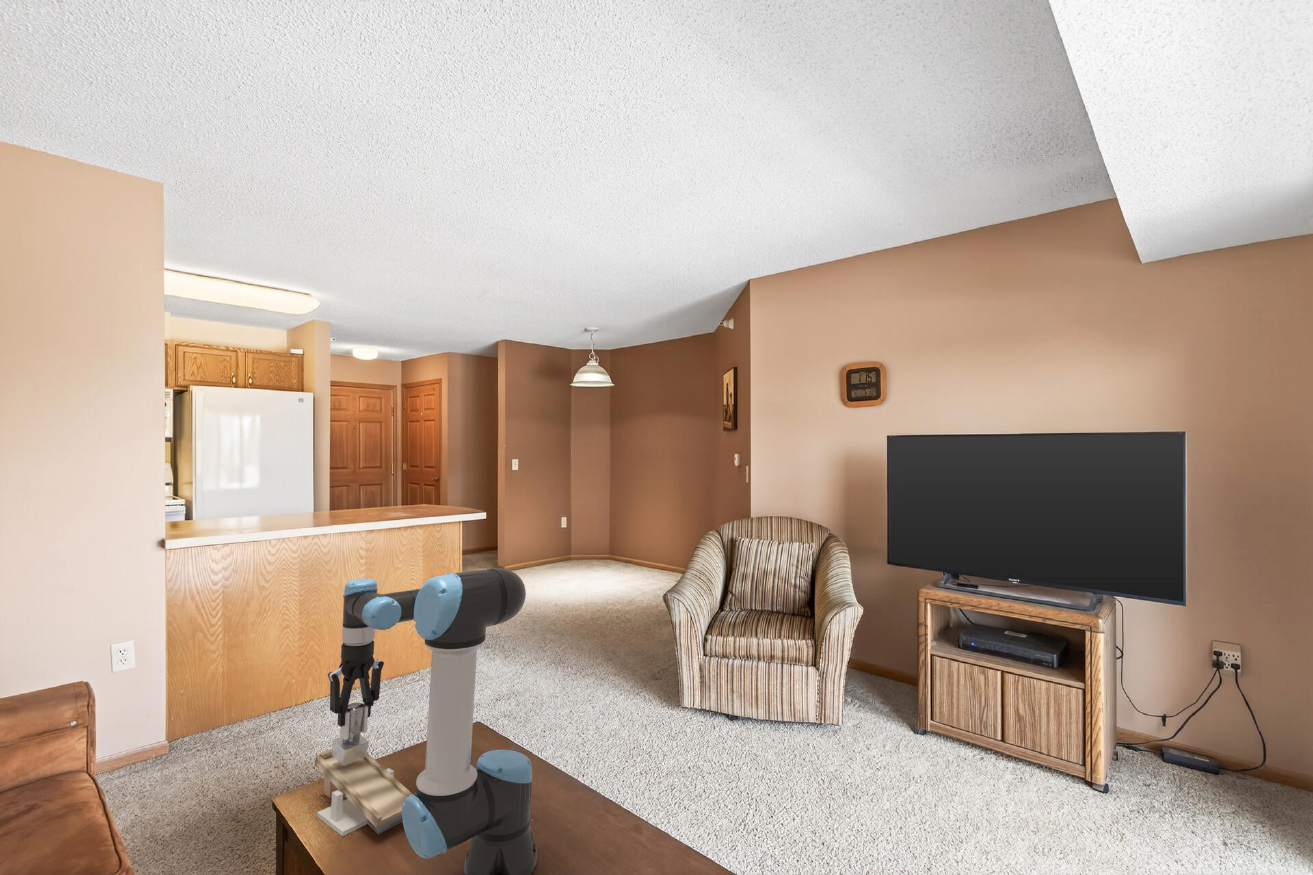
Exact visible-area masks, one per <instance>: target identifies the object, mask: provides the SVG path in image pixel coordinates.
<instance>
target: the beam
mask: <svg viewBox="0 0 1313 875" xmlns="http://www.w3.org/2000/svg"><path fill="white" fill-rule="evenodd" d="M331 754H332V748H331V749H329V750H326V751H322V752H320V753H319V755H317V756H315V759H314V766H315V767H316V768H317V769H318V770H319V771H320V772H321V773H322V775H323V776H324V777H325V776H326V777H327V778H328V779H329V780H330V781H331V782H332V783H333V784H334V785H335V786H336V787H337V788H338V789H339V790H340V791H341V793H343V799H344V798H346V799H349V800H350V802H351V803H352V804H353V805H354V806H355V807H356V808H357V809H358V810H359V811H360V812H361V813H362V814H363V815H364V816H365V817H366V818H367V824H366V825H368V826H369V827H370V828H371V829H372V830H373V831H374V832H375V833H376V834H377V835H380V834H382V833H384V832H386V831H388V830H390V829H392V828H394V827H396V826H398V825H399V824H401V823H402V824H403V820H402V805H403V802H404V801H405V799H406V798H407V797H409V795H414V794H413V792H411V791H410V790H409V789H408V788H407V787H406V786H404V785H403V784H402V783H401V782H400V781H399V780H398V779H396V777H395V776H394V777H393V776H392V775H391V774H390V773H389V772H387V771H386V769H385V768H384V767H383V766H382V765H381V764H379V763H378V761H376V760H375V759H374V758H373V757H372V756H371V755H370V754H369V753H367V757H364V758H362V759H359V760H357V761H354V762H352V763H349V764H347V765H344V766H342V765H341V764H340V763H339V762H338V761H337V760H336V759H335V758H334V757H333V756H332V755H331Z"/></svg>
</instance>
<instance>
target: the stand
mask: <svg viewBox="0 0 1313 875" xmlns="http://www.w3.org/2000/svg"><path fill="white" fill-rule="evenodd" d="M385 770H386V771H387V772H389V773H390V774H391V775H392V776H393V777H394V778H395V770H393V769H392V768H390V767H388V768H386V769H385ZM323 780H324V781H323V783H324V784H323V795H325V796H326V797H328V798H329V799H330V798H331V802H330V804H331V805H330V806H328V807H326V808H324V809H322V810H319V811H317V818H319V819H320V820H321V821H322V822H324V823H325V824H326V825H327V826H328V827H330V828H331V829H333V830H334V831H335V832H336V833H338V834H339V835H340V836H341V837H343V836H345V835H348V834H350V833H352V832H354V831H356V830H358V829H360V828H362V827H364V826H366V825H368V824H367V818H366V817H365V816H364V815H363V814H362V813H361V812H360V811H359V810H358V809H357V808H356V807H355V806H354V805H353V804H352V803H351V802H350V800H349V799H348V798H346V799H344V798H343V793H341V791H340V790H339V789H338V788H337V787H336V786H335V785H334V784H333V783H332V782H331V781H330V780H329V779H328V778H327V777H326V776H325V775H324V779H323Z"/></svg>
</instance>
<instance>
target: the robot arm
mask: <svg viewBox="0 0 1313 875" xmlns="http://www.w3.org/2000/svg"><path fill="white" fill-rule="evenodd" d="M378 590H379V588H378V583H377V581H376V580H375V579H373V578H358V579H357V578H356V579H352V580H349V581H347V582H346V583H345V585H344V591H343V596H342V597H343V605H342V606H343V608H342V610H343V611H342V629H341V630H342V631H341V642H342V644H341V646H340V647H341V649H340V660H341V662H340V664H339V665H338V666H339V667H338V669H336V670H335V671H333V672H332V671H329V672H328V673H327V677H328V679H329V681H330V682H329V687H330V688H329V711H330V712H331V713H334V714H335V715H337V722H336V723H337V724H336V725H337V726H339V727H340V728H339V729H340V733H339V737H341V738H343V739H344V740H347V739H348V738H349V718H350V712H348V711H347V708H348V705H349V704H350V699H351V696H352V692H353V691H352V690H353V686H354V685H355V682H356V680H359V686H360V692H361V697H362V704H364V711H363V719H362V727H361V733H363V734H367V733H368V721H369V720H368V718H370V717H371V715H372V713H371V712H372V707H373V706H374V704H375V701H379V699H380V693H381V692H380V691H381V682H382V681H381V679H382V678H381V677H382V670H383V667H384V665H385V662H384V661H383V660H380V659H375V658H374V654H375V640H374V639H375V638H376V637H375V636H376V630H377V631H386V630H391V628H393V627H394V626H395V625H397V624H399V623H404V622H411V621H414V622H415V624H414V628H415V630H416V633H417V634H418V636H419V637H420V638H422V640H423V639H424V646H426V647H427V648H428V649H429V651H431V664H430V682H429V697H428V698H429V699H428V700H429V701H428V714H427V715H428V717H427V729H426V730H427V731H426V733H427V734H426V745H425V746H426V747H425V748H426V749H425V763H424V764H425V765H424V770H422V771H421V772H420V773H419V774H418V776H417V777H416V781H415V793H414V794H413V795H409V797H407V798H406V799H405V801H404V802H403V805H402V820H403V822H402V824H403V829H404V833H405V835H406V839H407V841H408V843H409V844H410V846H411V849H412V850H413V852H415V854H417V855H418V856H419V857H420V858H421V859H431V858H433V857H435V856H438V855H440V854H446V853H447V852H448V851H449V850H450V849H452V848H455V847H456V846H458V845H460V844H462V843H463V844H464V842H466V841H469V840H471V842H470V845H469V848H468V850H467V851H466V854H465V858H464V868H463V869H464V870H463V871H464V872H463V873H464V875H530V874H531V873H532V872H534V871H535V869H536V867H537V863H538V862H537V859H538V858H537V857H538V851H537V846H536V843H535V842H536V841H535V838H534V836H533V832H532V828H531V808H532V807H531V805H532V785H533V784H532V783H533V769H532V768H533V766H532V765H533V764H532V762H531V760H530V758H529V757H528V756H527V755H525V754H524V753H522V752H520V751H516V750H510V749H493V750H490V751H489V750H488V751H486V752H484V753H482V754H481V755H480V756H479V758H478V759H477V762H476V768H475V766H473V765H472V764H471V762H472V761H471V758H472V757H471V755H472V742H473V740H472V738H473V722H474V710H475V709H474V707H475V689H476V688H475V687H476V673H477V670H476V669H477V657H478V656H477V655H478V648H480V647H482V645H483V644H484V643H485V641H486V632H487V628H488V627H492V626H496V625H500V624H504V623H505V622H508V621H510V620H511V619H514V618H515V616H516V615H517V614H518V613H519V612H520V611H521V610H522V608H523V607H524V604H525V601H526V598H527V597H526V595H527V593H526V587H525V583H524V581H523V579H522V578H521V577H520V576H519V575H518V574H517V573H516V572H514V571H512V570H510V569H507V568H502V567H501V568H499V567H494V568H488V569H480V570H471V571H463V572H456V573H455V572H454V573H452V572H451V573H446V574H443V575H439V576H433V577H430V578H429V579H428V580H426V581H425V582H424V583H423V585H422V586H421V588H416V589H411V590H403V591H395V592H388V593H383V594H382V593H379V592H378ZM370 670H371V678H370V673H369V672H370ZM341 675H342V676H343V679H342V683H343V684H342V686H341V682H340V681H341V677H342V676H341ZM341 687H342V688H341ZM535 866H536V867H535ZM534 868H535V869H534ZM533 870H534V871H533ZM532 874H533V873H532ZM532 874H531V875H532Z"/></svg>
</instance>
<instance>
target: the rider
mask: <svg viewBox="0 0 1313 875" xmlns="http://www.w3.org/2000/svg"><path fill="white" fill-rule="evenodd" d="M347 711H348V712H350V718H349V738H348V739H347V740H344V739H343V738H341V737H340V736H339V737H338V738H334V739H333V740H332V745H331V746H332V747H331V749H332V754H331V755H332V756H333V757H334V758H335V759H336V760H337V761H338V762H339V763H340V764H341V765H342V766H344V765H347V764H349V763H352V762H354V761H357V760H359V759H362V758H364V757H367V754H368V749H369V743H370V742H369V741H368V739H366V738H365V737H364V736H363V735H362V732H361V727H362V719H363V711H364V703H363V702H351V703H349V704H348V708H347Z"/></svg>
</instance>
